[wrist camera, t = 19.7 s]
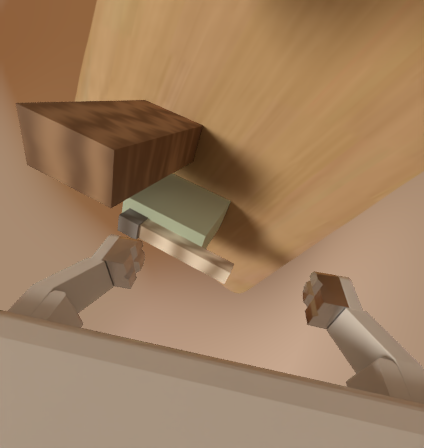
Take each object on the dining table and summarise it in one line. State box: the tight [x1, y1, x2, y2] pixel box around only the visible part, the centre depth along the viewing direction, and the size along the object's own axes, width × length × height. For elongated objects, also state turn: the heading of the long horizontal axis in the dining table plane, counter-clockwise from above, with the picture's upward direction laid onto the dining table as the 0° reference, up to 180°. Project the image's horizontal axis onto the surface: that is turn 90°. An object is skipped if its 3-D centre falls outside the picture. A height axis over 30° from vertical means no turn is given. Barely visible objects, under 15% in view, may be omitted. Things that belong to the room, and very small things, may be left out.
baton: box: [118, 208, 234, 284], centre depth 40 cm, size 22×4×3 cm, turn 71°
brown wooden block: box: [16, 100, 203, 208], centre depth 38 cm, size 14×8×26 cm, turn 72°
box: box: [122, 173, 231, 249], centre depth 49 cm, size 17×8×16 cm, turn 72°
